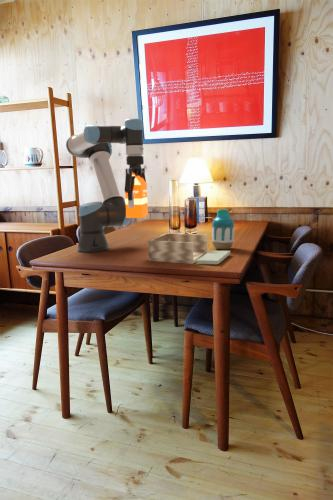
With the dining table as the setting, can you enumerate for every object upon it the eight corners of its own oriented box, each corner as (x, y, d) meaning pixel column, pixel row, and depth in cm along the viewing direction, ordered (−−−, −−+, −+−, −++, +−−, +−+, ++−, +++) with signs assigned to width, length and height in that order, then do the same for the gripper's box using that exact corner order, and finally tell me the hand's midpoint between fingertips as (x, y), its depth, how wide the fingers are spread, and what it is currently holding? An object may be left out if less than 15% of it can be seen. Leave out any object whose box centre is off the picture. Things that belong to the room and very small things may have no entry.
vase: (208, 248, 188) (207, 209, 184) (227, 246, 192) (227, 208, 188) (218, 252, 179) (218, 211, 175) (238, 250, 182) (238, 210, 178)
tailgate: (196, 260, 158) (217, 260, 154) (210, 250, 175) (230, 250, 171) (196, 263, 158) (218, 264, 154) (210, 253, 175) (230, 254, 171)
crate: (148, 261, 166) (148, 240, 164) (167, 251, 184) (166, 232, 182) (192, 264, 158) (192, 243, 156) (207, 254, 176) (207, 234, 174)
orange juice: (125, 217, 172) (123, 172, 168) (132, 215, 181) (130, 171, 176) (142, 218, 171) (140, 172, 166) (148, 215, 179) (146, 171, 175)
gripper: (130, 155, 158) (132, 209, 163) (153, 155, 178) (154, 204, 183) (114, 155, 161) (117, 208, 166) (138, 156, 181) (140, 203, 186)
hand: (136, 206), depth 175 cm, fingers closed on orange juice, 9 cm apart
